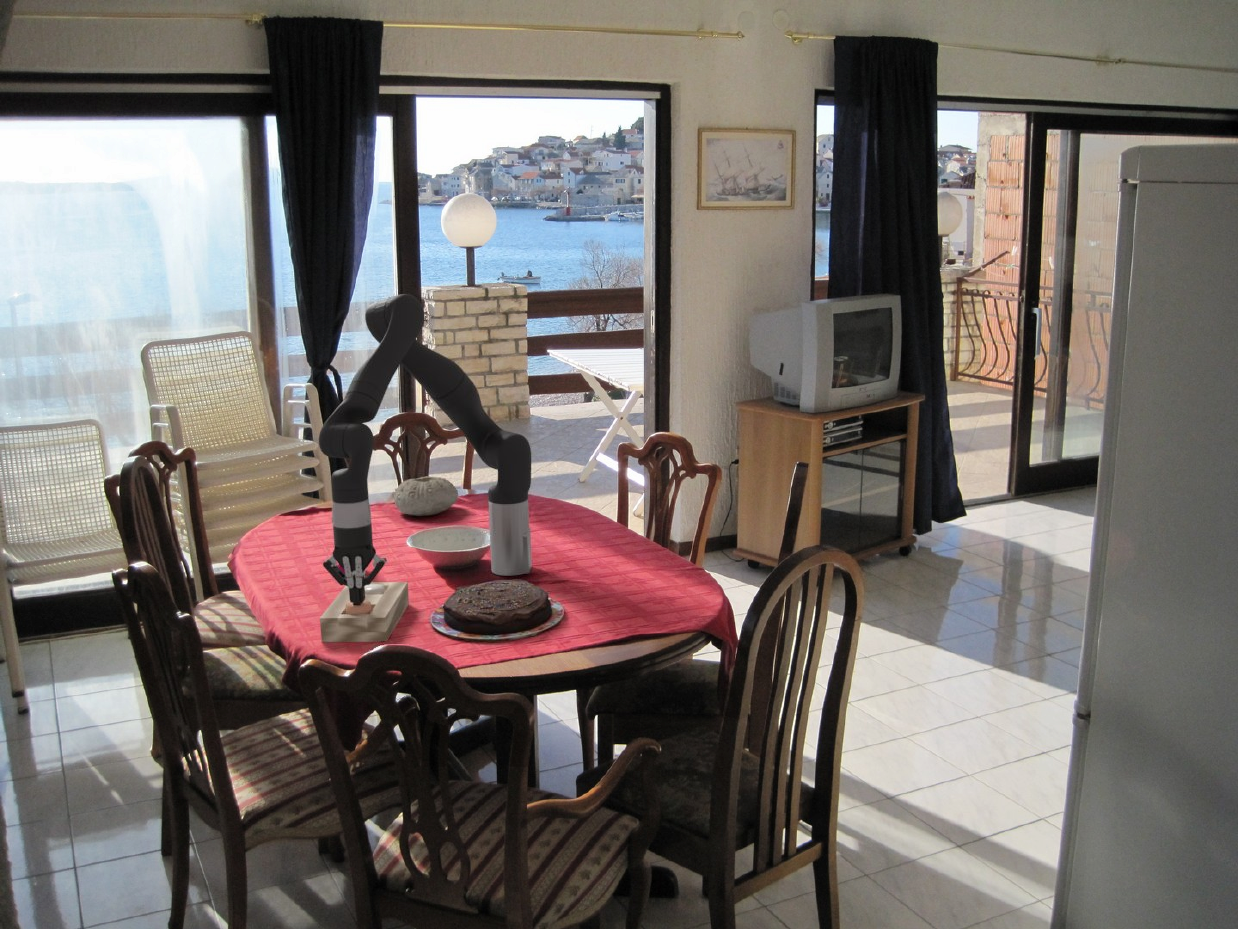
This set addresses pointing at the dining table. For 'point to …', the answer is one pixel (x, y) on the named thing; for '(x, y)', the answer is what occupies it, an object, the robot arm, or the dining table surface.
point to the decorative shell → (425, 496)
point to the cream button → (374, 589)
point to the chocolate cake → (497, 612)
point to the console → (365, 615)
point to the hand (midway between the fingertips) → (357, 604)
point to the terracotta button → (358, 608)
